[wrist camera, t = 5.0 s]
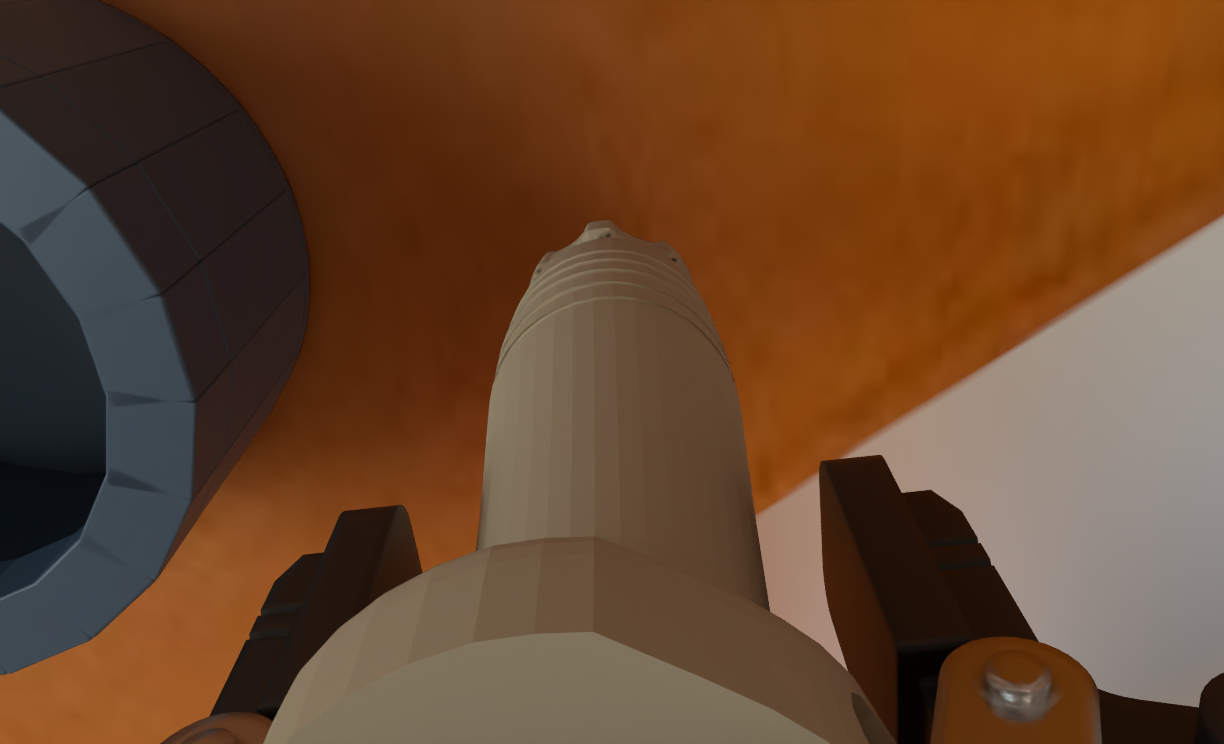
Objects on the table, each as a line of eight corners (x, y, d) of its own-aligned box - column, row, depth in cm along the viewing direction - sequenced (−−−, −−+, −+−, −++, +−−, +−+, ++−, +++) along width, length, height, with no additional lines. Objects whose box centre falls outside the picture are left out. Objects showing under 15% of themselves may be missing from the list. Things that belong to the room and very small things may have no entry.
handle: (608, 459, 23) (618, 1257, 10) (422, 235, 21) (89, 855, 7) (791, 342, 22) (1100, 1058, 8) (615, 92, 20) (645, 511, 6)
